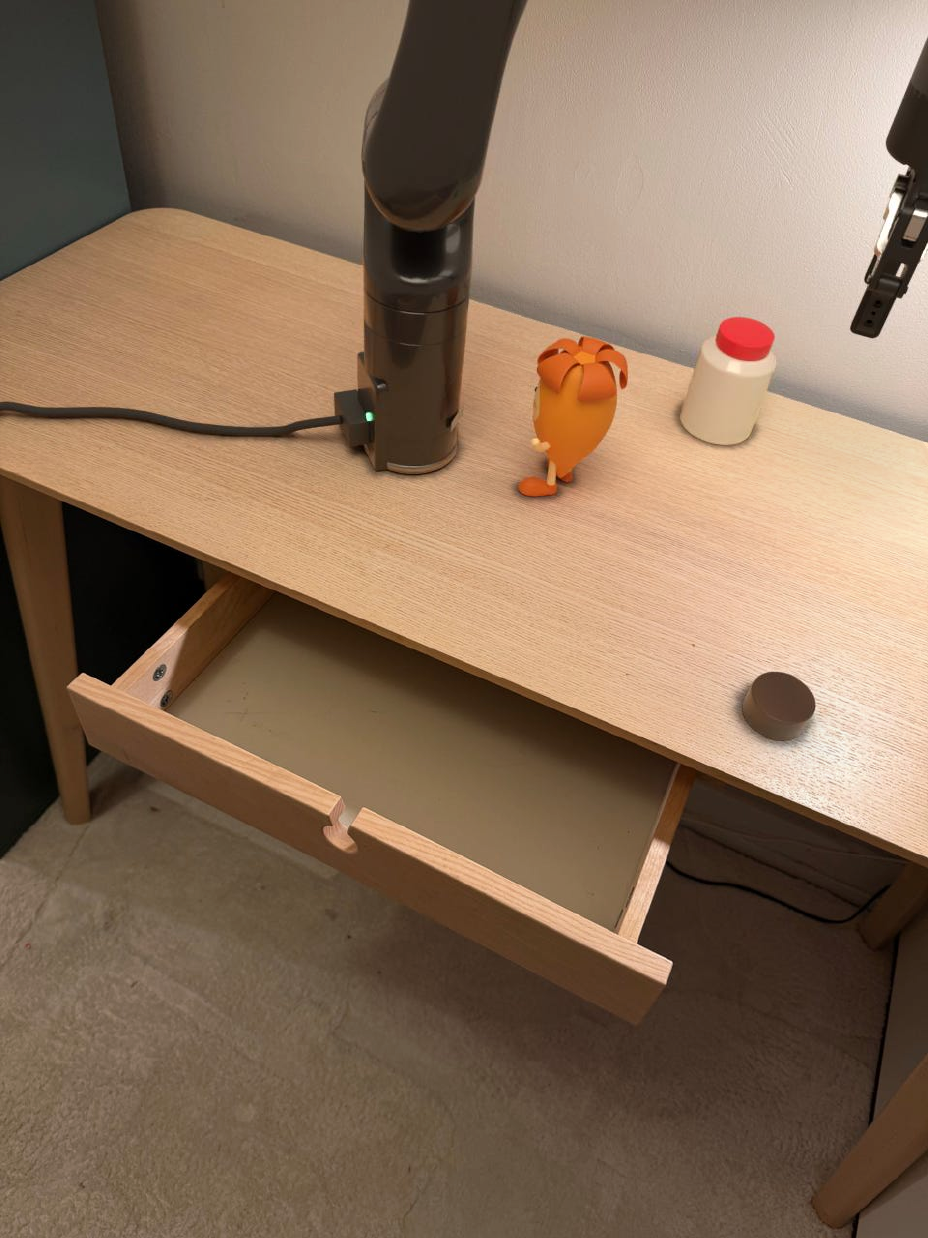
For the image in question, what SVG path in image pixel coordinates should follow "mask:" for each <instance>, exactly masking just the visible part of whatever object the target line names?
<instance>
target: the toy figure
mask: <svg viewBox="0 0 928 1238" xmlns="http://www.w3.org/2000/svg"><path fill="white" fill-rule="evenodd" d="M560 350H562V351H560ZM559 351H560V352H559ZM536 363H537V366H536V370H535V371H536V373H537V375H538V377H539V380H538V383H537V386H535V388H534V398H533V405H532V423H533V428H534V432H535V435H536V437H533V438H532V439H531V440H530V446H531V448H532V450H534V451H536V452H538V453H542V452H544V453H545V455H546V457H547V460H546V466H547V468H548V470H547V476H546V480H544V479H543V478H540V477H536V476H529V477H525V478H523V479H522V480H521V481H520V482H519V484H518V490H519V492H520V494H522V495H524V496H527V497H543V496H552V495H555V494H556V493H557V492H558V486H557V481H556V477H557V478H558V479H560V480H561V481H563V482H566V483H569V482H571V481H572V480H573V469H574V468H575V467H576V466H577V465H578V464H579V463H580V462H581V461H582V460H584V459H585V458H586V457H587V456H588V455H590V454H591V453H592V452H593V451H594V450H595V449H596V448H598V446H600V444H601V443H602V441H603V440H604V438H605V437H606V435H607V434H608V432H609V430H610V428H611V426H612V424H613V421H614V418H615V415H616V410H617V404H618V386H617V381H616V377H615V373H614V370H613V367H612V364H614V365H615V366H616V367H617V368H618V369H620V371H619V376H618V382H619V388H620V389H621V390H624V389H626V387H627V386H628V383H629V370H628V362H627V358H626V356H625V355H624V354H623V353H621V352H620V351H618V350H615V348H614V346H613V345H612V344H610V343H608V342H607V341H604V340H601V339H598V338H594V337H591V336H586V335H582V336H581V337H580V338H579V339H578V342H576V340H574V339H572V338H568V337H563V338H560V339H558V340H556V341H554V342H553V343H552V344H550V345H549V346H548V347H546V348H545V349H544V350H543V351H542V352H541V353H540V354H539V355H538V357H537V361H536ZM611 363H612V364H611Z"/></svg>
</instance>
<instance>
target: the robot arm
mask: <svg viewBox="0 0 928 1238" xmlns="http://www.w3.org/2000/svg"><path fill="white" fill-rule="evenodd" d="M528 2H529V0H408V4H407V9H406V14H405V19H404V23H403V27H402V31H401V34H400V38H399V43H398V46H397V49H396V53H395V56H394V59H393V62H392V66H391V70H390V73H389V75H388V77H387V78H386V79H385V80H384V81H382V82H381V84H380V85H379V86H378V87H377V89H376V90H375V92H374V93H373V95H372V96H371V98H370V101H369V103H368V105H367V108H366V112H365V115H364V122H363V131H362V141H361V153H360V159H361V171H362V176H363V182H364V183H363V185H364V186H363V189H364V191H363V195H364V198H363V199H364V200H363V201H364V204H363V206H364V209H363V210H364V211H363V244H362V245H363V246H362V247H363V248H362V269H363V270H362V273H363V275H362V277H363V278H362V279H363V280H362V281H363V282H362V283H363V286H362V287H363V351H359V352H358V353H357V355H356V364H357V365H356V369H357V370H356V371H357V389H355V388H354V389H347V390H342V391H335V392H333V406H334V407H333V409H334V415H331V416H324V417H322V416H321V417H315V418H308V419H303V420H297V421H294V422H291V423H288V424H286V425H285V424H284V425H280V426H262V427H261V426H259V427H257V426H256V427H255V426H250V427H249V426H236V425H235V426H233V425H223V424H222V425H221V424H213V423H204V422H195V421H190V420H185V419H181V418H176V417H172V416H167V415H164V414H159V413H156V412H152V411H147V410H140V409H135V408H127V407H125V408H124V407H115V406H114V407H112V406H111V407H110V406H74V407H72V406H71V407H69V406H68V407H60V406H59V407H58V406H57V407H55V406H54V407H53V406H52V407H51V406H49V407H48V406H37V405H30V404H26V403H20V402H14V401H0V412H14V413H20V414H24V415H29V416H37V417H52V418H54V417H55V418H58V417H59V418H60V417H63V418H64V417H65V418H66V417H67V418H69V417H72V418H73V417H112V418H113V417H115V418H125V419H126V418H127V419H134V420H135V419H136V420H141V421H146V422H150V423H155V424H159V425H164V426H167V427H171V428H175V429H180V430H185V431H190V432H196V433H203V434H212V435H222V436H235V437H277V436H278V437H279V436H286V435H290V434H293V433H295V432H298V431H303V430H309V429H315V428H323V427H331V426H339V427H340V429H341V432H342V434H343V436H344V438H345V440H346V443H347V445H348V447H350V448H353V447H356V446H363V449H364V452H365V454H366V455H367V456H368V459H369V461H370V462H371V465H372V467H373V468H374V471H378V472H379V471H384V470H388V471H391V472H395V473H400V474H407V475H419V474H426V473H430V472H435V471H437V470H439V469H442V468H443V467H445V466H446V465H448V464H449V463H450V462H452V460H453V459H454V458H455V456H456V454H457V451H458V442H459V441H458V440H459V439H458V437H459V421H460V420H461V418H462V417H463V415H464V408H465V407H464V405H462V407H461V408H460V406H461V395H462V386H463V385H462V384H463V374H464V373H463V372H464V360H465V348H466V340H467V339H466V338H467V337H466V336H467V329H468V328H467V326H468V317H469V304H470V295H471V294H470V292H471V286H472V275H473V261H474V260H473V259H474V258H473V253H474V252H473V251H474V225H475V222H474V221H475V208H476V207H475V205H476V196H477V194H478V192H479V190H480V187H481V184H482V182H483V177H484V173H485V166H486V161H487V157H488V150H489V145H490V140H491V134H492V131H493V125H494V120H495V115H496V112H497V107H498V102H499V98H500V93H501V88H502V84H503V80H504V76H505V72H506V68H507V64H508V60H509V57H510V53H511V51H512V50H511V49H512V46H513V44H514V41H515V37H516V34H517V31H518V28H519V25H520V23H521V21H522V17H523V15H524V12H525V11H526V7H527V5H528ZM885 148H886V151H887V152H888V154H889V155H890V157H892V158H893V159H894V160H895V161H896V162H898V163H899V164H901V165H903V166H908V167H907V169H906V172H905V173H904V174H902V173H898V174H897V176H896V177H895V180H894V183H893V185H892V188H891V191H890V193H889V197H888V198H889V200H888V201H887V205H886V206H885V210H884V213H883V216H882V219H883V221H884V223H882V226H881V230H880V232H879V233H878V234H879V235H878V238H877V239H876V242H875V244H874V247H873V253H874V254H873V256H872V257H871V261H870V263H869V264H868V267H867V269H866V272H865V274H864V277H863V281H864V283H865V284H866V289H865V291H864V292H863V296H862V297H861V300H860V302H859V304H858V307H857V309H856V311H855V314H854V315H853V318H852V320H851V323H850V326H849V330H850V332H851V333H852V334H854V335H857V336H862V337H865V338H868V339H876V338H878V337H879V336H880V334H881V332H882V330H883V328H884V326H885V324H886V322H887V319H888V318H889V315H890V313H891V311H892V309H893V308H894V307H893V306H894V305H895V302H896V300H897V299H900V300H902V298H903V297H904V295H907V292H908V290H909V285H910V282H911V280H912V278H913V276H914V274H915V272H916V270H917V267H918V265H919V264H920V263H921V262H922V261H923V260H924V258H925V256H926V254H927V252H928V36H927V37H926V40H925V42H924V45H923V46H922V49H921V52H920V54H919V57H918V59H917V62H916V64H915V66H914V69H913V72H912V74H911V77H910V79H909V82H908V83H907V86H906V89H905V91H904V94H903V97H902V99H901V102H900V103H899V107H898V109H897V111H896V114H895V116H894V118H893V121H892V123H891V126H890V129H889V131H888V133H887V136H886V139H885ZM901 265H903V268H902V271H901V273H900V276H898V271H899V270H900V267H901Z"/></svg>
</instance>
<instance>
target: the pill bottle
mask: <svg viewBox="0 0 928 1238" xmlns="http://www.w3.org/2000/svg"><path fill="white" fill-rule="evenodd" d="M775 337H776V335H775V332H774V331H773V329H772V328H770V327H769V326H768V325H767V324H765V323H763V322H761V321H759V320H757V319H753V318H750V317H745V316H734V317H729V318H725V319H723V320H722V321H721V323H720V324H719V326H718V330H717V333H715V334H713V335H711V336H709V337H707V338H706V339H705V340H704V341H703V343H702V344H701V346H700V349H699V352H698V355H697V358H696V362H695V365H694V368H693V371H692V375H691V377H690V381H689V384H688V387H687V391H686V394H685V397H684V400H683V403H682V407H681V410H680V415H679V419H680V423H681V425H682V426H683V428H684V429H685V430H686V431H687V432H688V433H689V434H691V435H692V436H694V437H695V438H697V439H699V440H701V441H703V442H706V443H709V444H713V445H720V446H729V445H730V446H731V445H736V444H740V443H742V442H744V441H746V440H747V439H748V438H749V437H750V435H751V434H752V431H753V428H754V426H755V423H756V422H757V419H758V415H759V414H760V411H761V408H762V405H763V403H764V401H765V397H766V395H767V393H768V391H769V387H770V385H771V382H772V380H773V378H774V374H775V372H776V369H777V367H778V358H777V356H776V353H775V352H774V350H773V348H772V347H773V344H774V343H775Z"/></svg>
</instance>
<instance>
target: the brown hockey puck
mask: <svg viewBox="0 0 928 1238" xmlns="http://www.w3.org/2000/svg"><path fill="white" fill-rule="evenodd" d="M741 706H742V715H743V717H744V719H745V721H746V723H747V724H748V725H749V726H750V728H751V729H753V730H754V731H755V732H756V733H758V734H759V735H761V736H763V737H765V738H767V739H771V740H774V741H789V740H792V739H795V738H797V737H799V736H800V735H802V732H803V731H804V729H805V728H806V726H807V725H808V723H809V722H810V720H811V718H812V717H813V715H814V713H815V711H816V706H817V705H816V699H815V695H814V694H813V692H812V691H811V689H810V688H809V687H808V685H807V684H805V682H803V681H802V680H800V678H797V677H796V676H794V675H792V674H789V673H786V672H782V671H768V672H763V673H761V674H760V675H758V676H757V677H756V678H755V679H754V680H753V682H752V684H751V685H750V687H749V689H748V691H747V693H746V694H745V697H744V698H743V701H742V705H741Z"/></svg>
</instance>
